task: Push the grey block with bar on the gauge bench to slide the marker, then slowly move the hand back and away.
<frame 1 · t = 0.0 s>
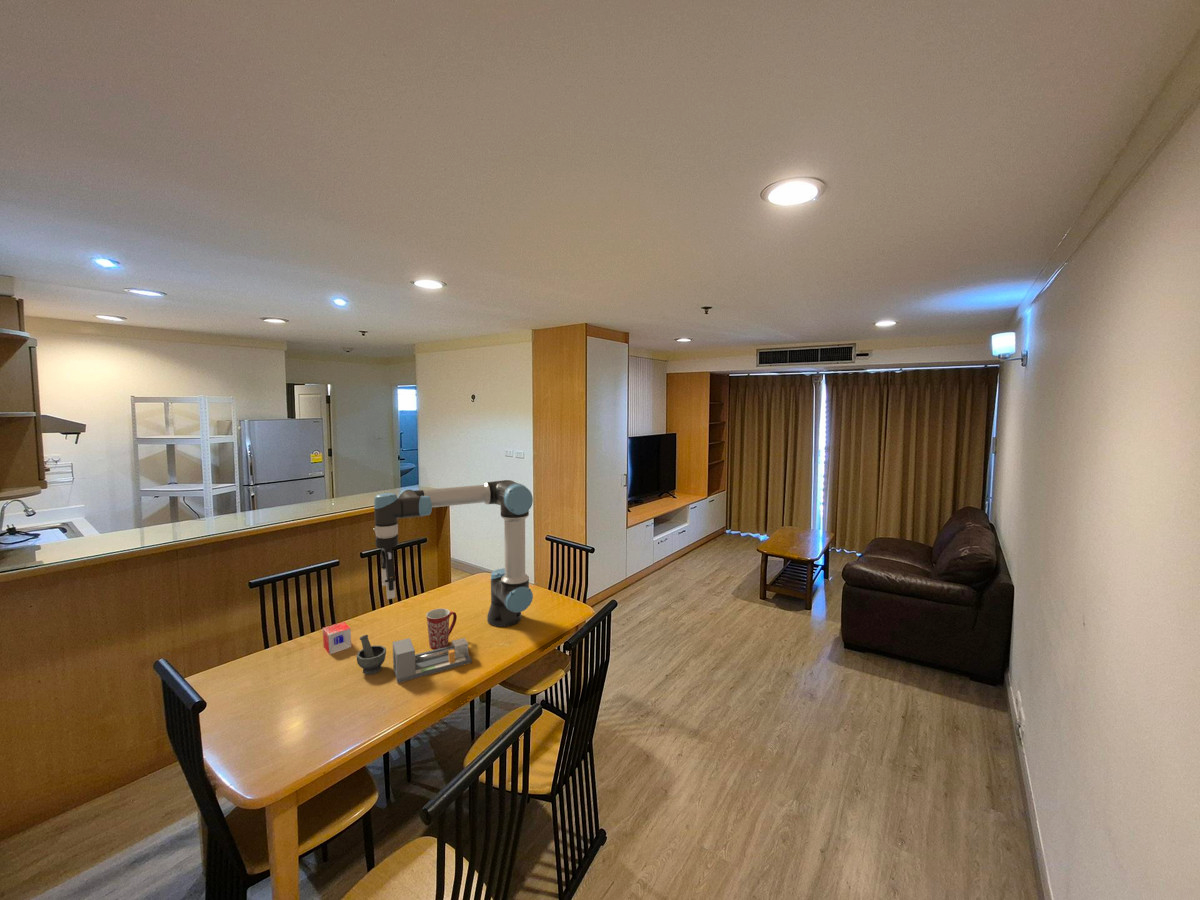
hand: (388, 591, 174), 28 cm above the table, fingers open, 13 cm apart
toy block: (337, 647, 188), on the table
mug: (442, 643, 192), on the table
mortar and pestle: (371, 669, 173), on the table
grey block with bar: (440, 654, 176), point 4 cm above the table, slide at 0.0 cm
marker: (451, 656, 175), point 4 cm above the table, slide at 0.0 cm
gauge bench: (433, 665, 175), on the table
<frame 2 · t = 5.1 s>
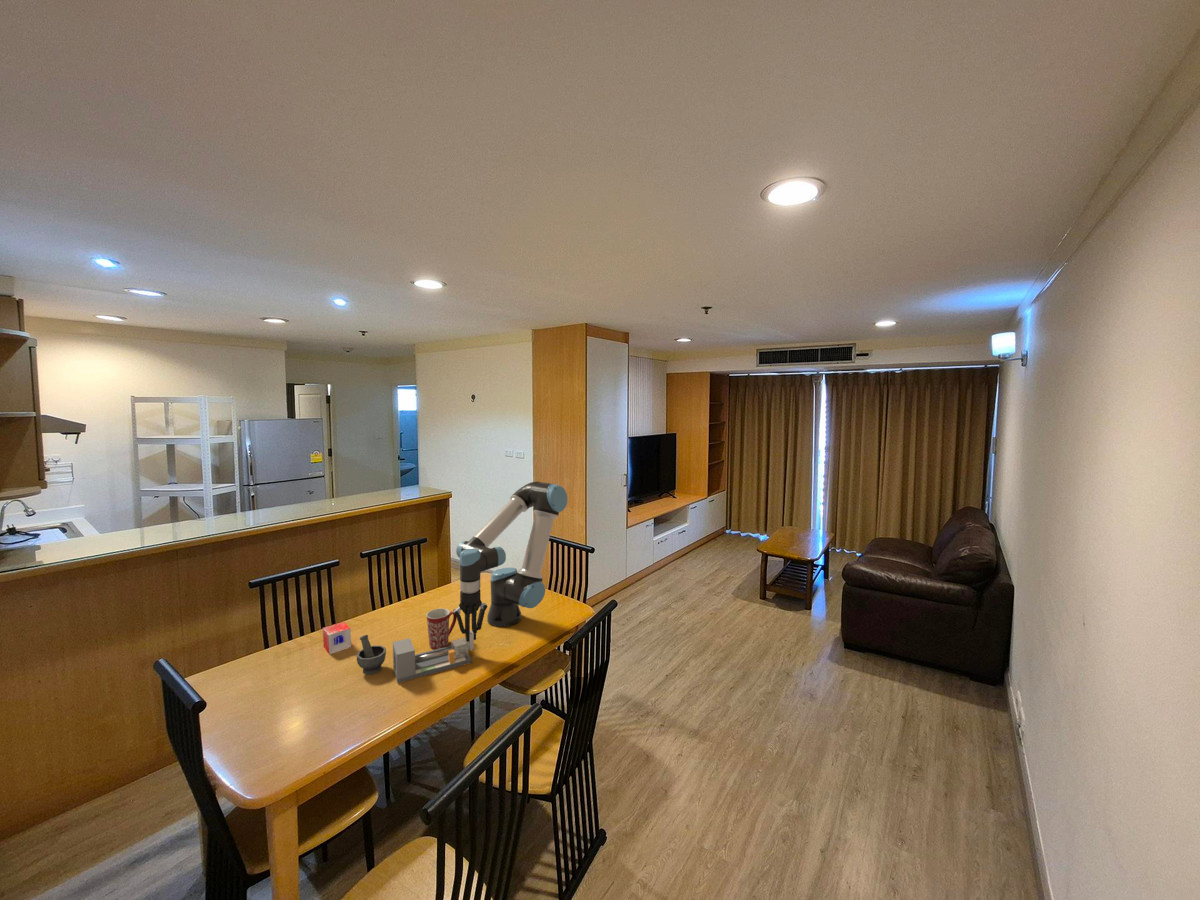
hand: (470, 648, 182), 3 cm above the table, fingers closed
grey block with bar: (440, 654, 176), point 4 cm above the table, slide at 0.1 cm, touching gripper
everything else where it was.
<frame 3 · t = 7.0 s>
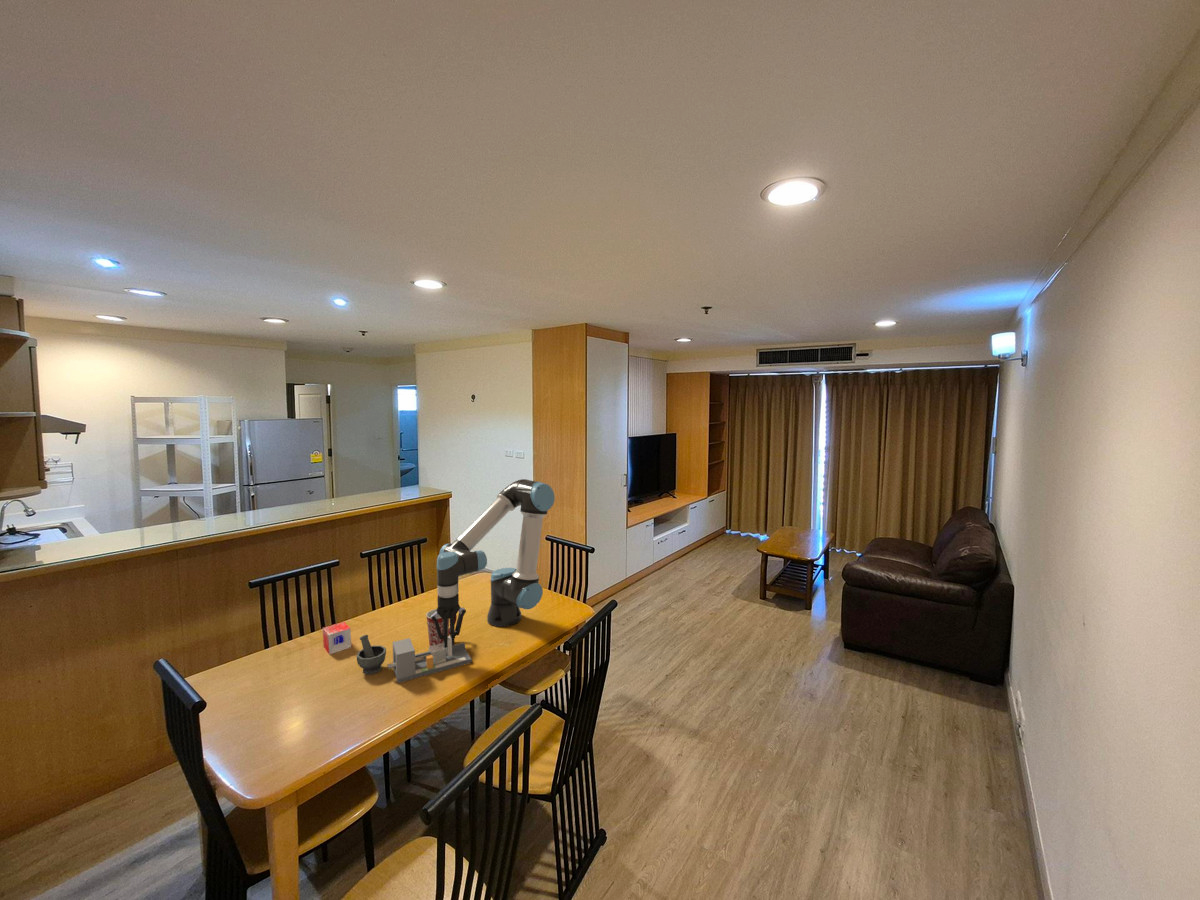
hand: (449, 654, 178), 3 cm above the table, fingers closed
grey block with bar: (417, 660, 171), point 4 cm above the table, slide at 8.4 cm, touching gripper, marker
marker: (429, 662, 171), point 4 cm above the table, slide at 7.9 cm, touching grey block with bar
everything else where it was.
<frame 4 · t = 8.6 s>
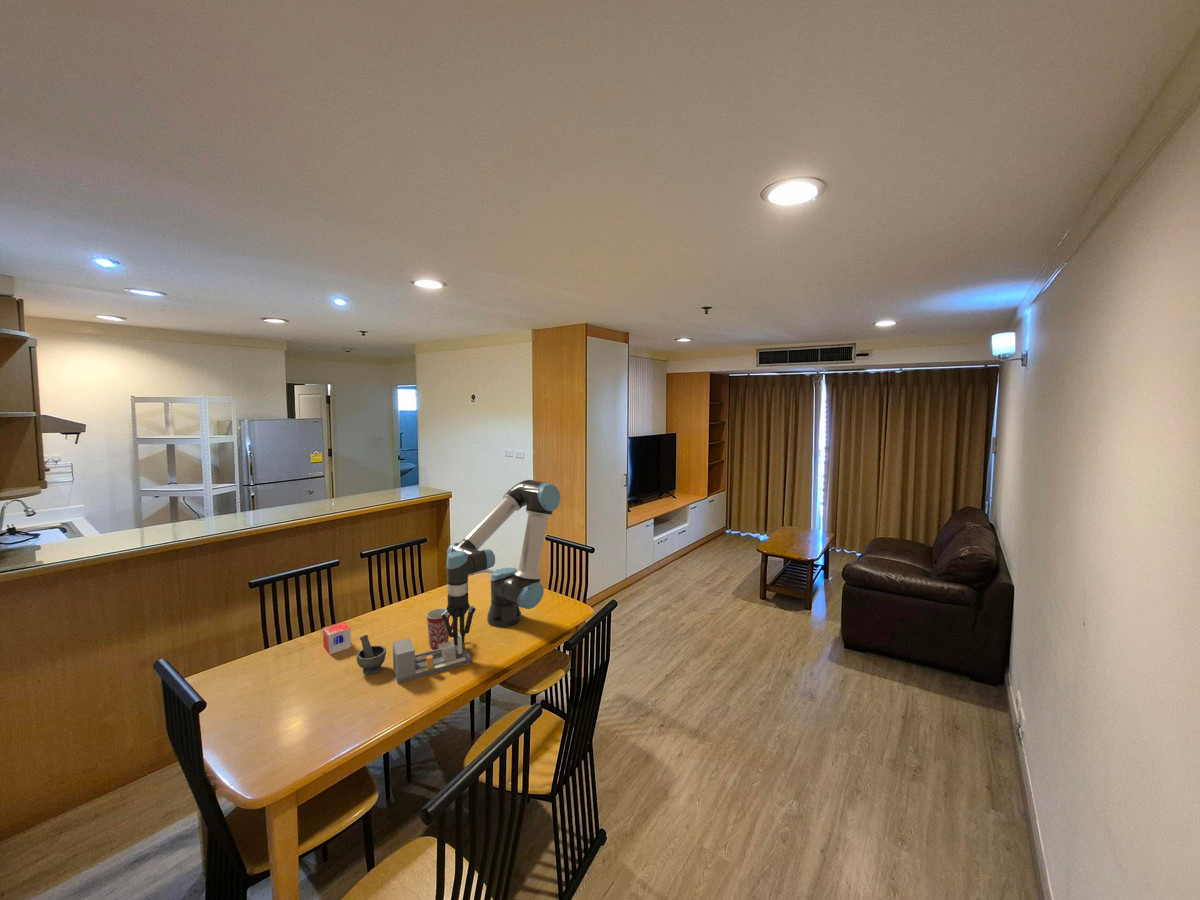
hand: (459, 651, 180), 3 cm above the table, fingers closed
grey block with bar: (427, 658, 173), point 4 cm above the table, slide at 4.7 cm, touching gripper
marker: (429, 662, 171), point 4 cm above the table, slide at 7.9 cm
everything else where it was.
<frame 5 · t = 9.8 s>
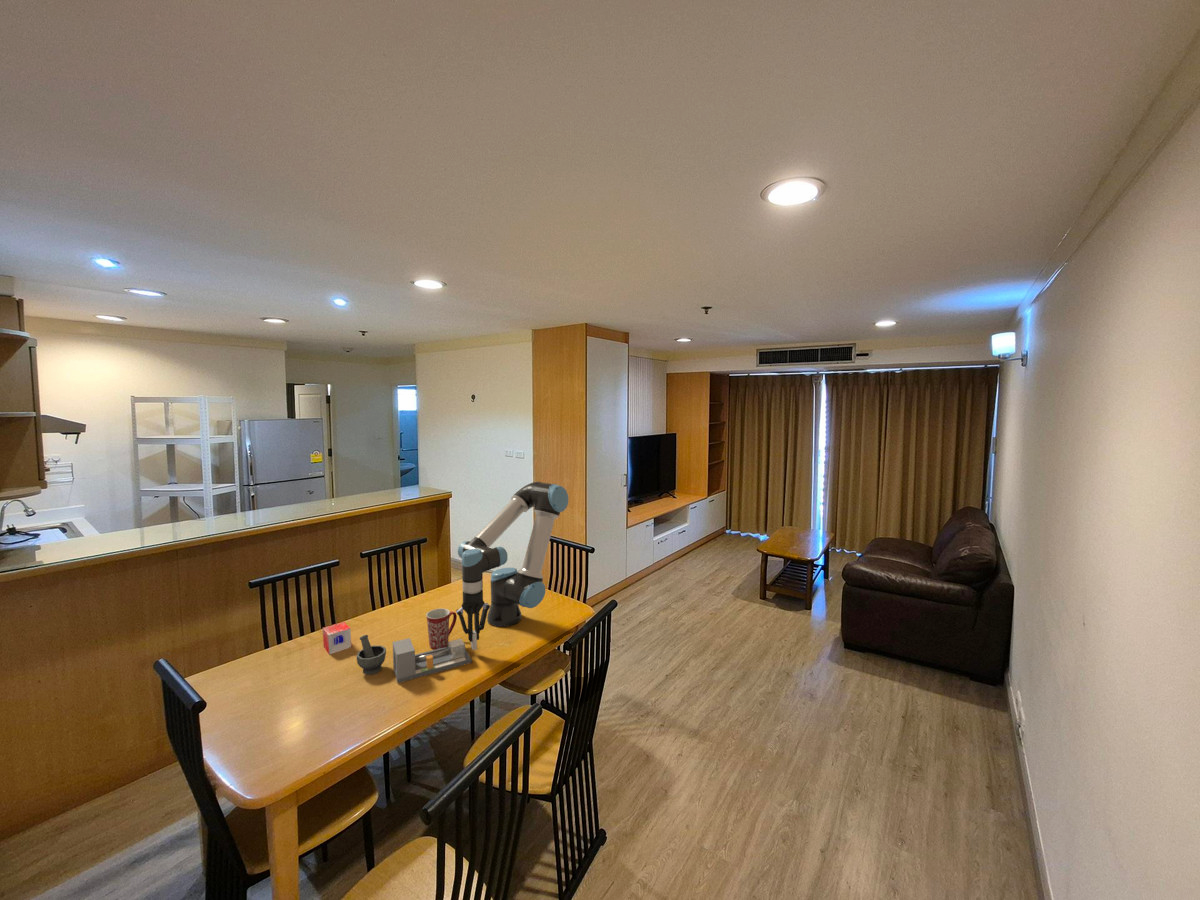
hand: (474, 648, 183), 3 cm above the table, fingers closed
grey block with bar: (437, 655, 175), point 4 cm above the table, slide at 1.3 cm
everything else where it was.
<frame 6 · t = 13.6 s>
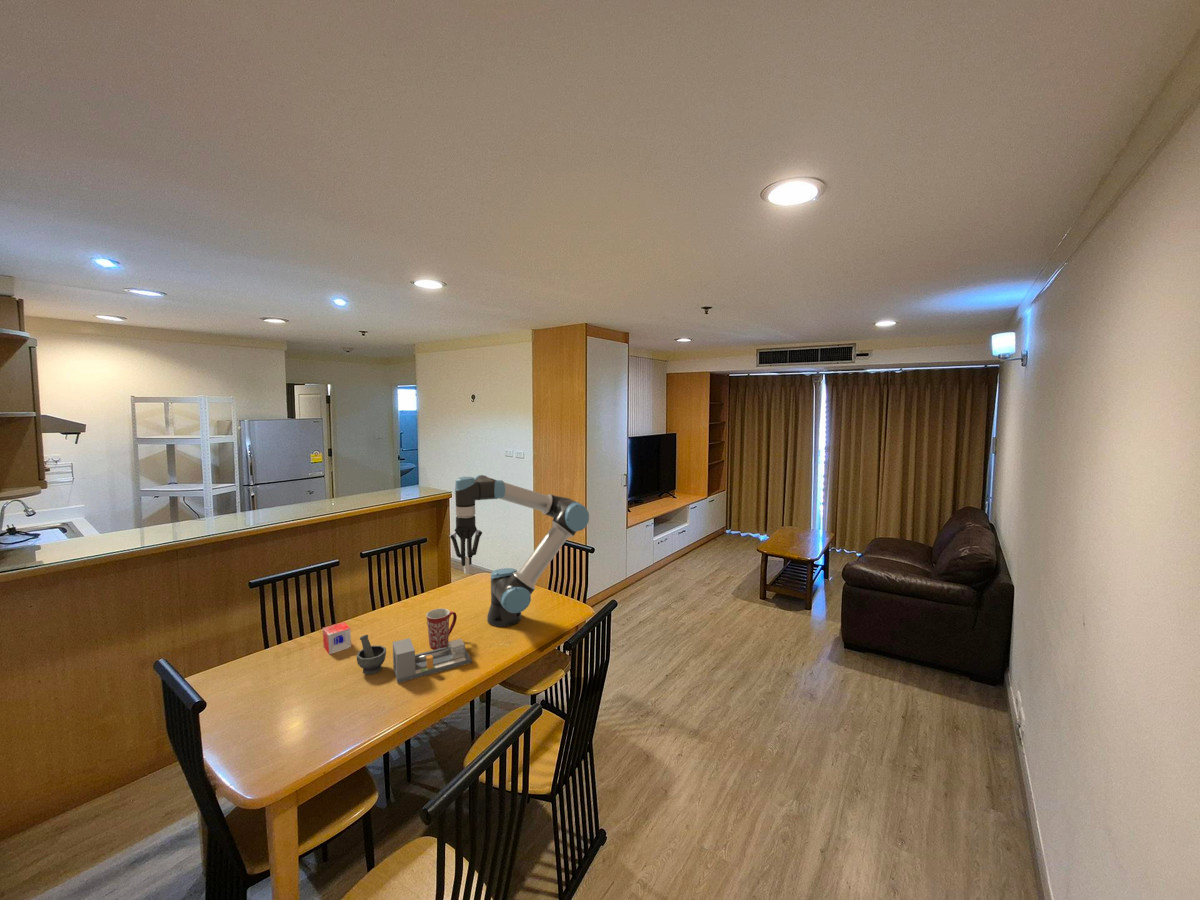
hand: (466, 572, 190), 29 cm above the table, fingers closed
nothing on the table moved.
at the end: marker slide at 7.9 cm; grey block with bar slide at 1.3 cm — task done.
